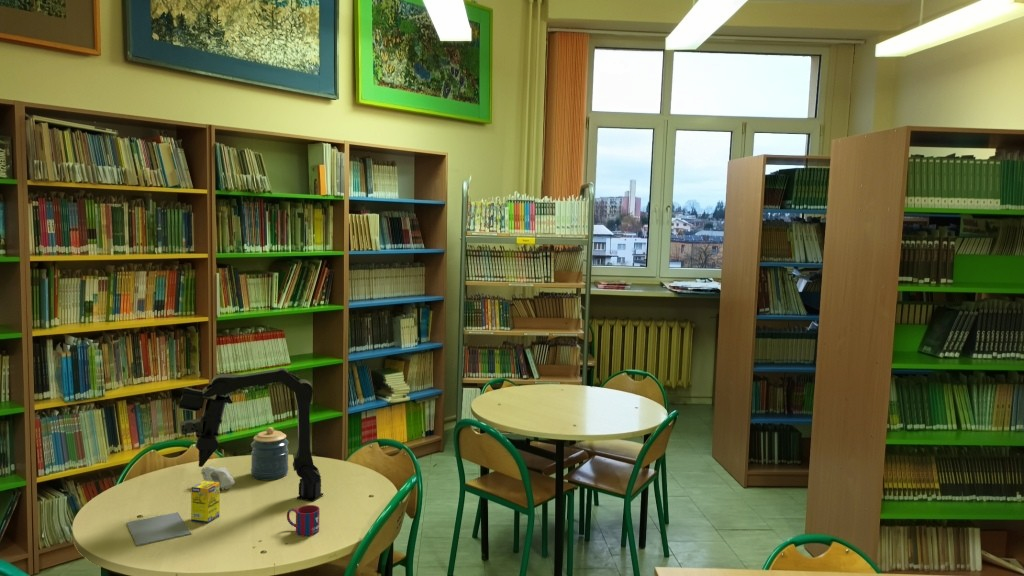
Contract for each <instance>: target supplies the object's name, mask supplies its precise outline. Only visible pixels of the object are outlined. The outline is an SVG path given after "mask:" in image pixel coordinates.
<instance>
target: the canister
mask: <svg viewBox="0 0 1024 576" xmlns="http://www.w3.org/2000/svg"><path fill="white" fill-rule="evenodd" d="M286 438H287V434H285V433H283V432H282V431H280V430H276V429H274V427H271V426H270V427H267V428H266V430H263V431H260V432H258V433H257V434H256V435H254V437H253V441H252V442H251V443H250V446H251V448H252V451H251V452H250V454H251V455H250V456H251V460H250V461H251V467H250V474H251V478H253V479H255V480H258V481H259V480H260V481H269V480H270V481H272V480H277V479H281V478H283V477H285V476H287V475H288V473H289V472H288V471H289V452H290V451H289V449H288V444H289V440H288V439H286Z"/></svg>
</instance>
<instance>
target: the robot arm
mask: <svg viewBox="0 0 1024 576" xmlns="http://www.w3.org/2000/svg"><path fill="white" fill-rule="evenodd" d="M279 382H280V383H282V384H283V385H285V387H287V388H288V389H289V390H290V391H292V392H293V393H294V398H295V403H296V406H297V451H296V453H295V452H293V453H292V457H293V462H292V466H293V471H295V472H296V475H297V476H298V477H299V478H300V479H299V483H298V496H297V497H296V499H297V500H303V501H309V502H314V501H316V500H317V499H319V498H321V497H323V496H324V495H323V494H324V493H323V492H322V476H321V473H320V471H319V468H318V467H317V466H316V465H315V464H314V460H313V455H312V451H311V432H310V431H311V429H310V428H311V427H310V426H311V423H310V421H311V419H310V418H311V414H310V409H311V404H312V401H313V400H312V399H313V395H314V394H313V393H314V388H313V386H312V384H311V383H310V381H308V380H307V379H304V378H303V379H301V378H299V377H298V376H296V375H295V374H294V373H292V372H290V371H288V370H287V368H284V367H280V368H276V369H272V370H271V369H270V370H264V371H258V372H251V373H244V374H236V373H235V374H234V373H219V374H216V375H215V376H213V378H212V380H211V382H210V383H209V384H208V385H207V386H205V387H204V388H203V389H202V390H201V389H197V388H196V389H194V388H191V387H187V386H185V387H184V388H183V389H184V390H183V393H182V395H181V397H180V401H179V405H178V409H179V410H183V411H190V412H191V411H192V412H196V413H197V412H199V411H200V410H203V413H202V414H200V417H199V418H195V419H188V420H183V421H180V425H179V426H180V433H181V434H180V435H182V436H185V435H189V434H192V433H195V436H196V437H197V438H196V441H195V448H196V449H197V450H198V468H204V467H203V466H205V464H206V463H207V462H208V460H209V459H210V458H211V457H212V456H213V454H214V453H215V452H216V451H217V450H218V447H219V444H220V441H219V439H218V436H219V430H220V428H221V427H220V426H221V424H222V422H223V415H224V411H225V409H226V405H227V404H233V402H234V401H233V399H234V398H232V397H231V394H230V393H234V392H235V391H238V390H240V389H244V388H249V387H254V386H260V385H268V384H274V383H279ZM205 400H206V402H205ZM204 404H205V406H204ZM203 407H204V409H203ZM322 495H323V496H322ZM320 496H321V497H320Z"/></svg>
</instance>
